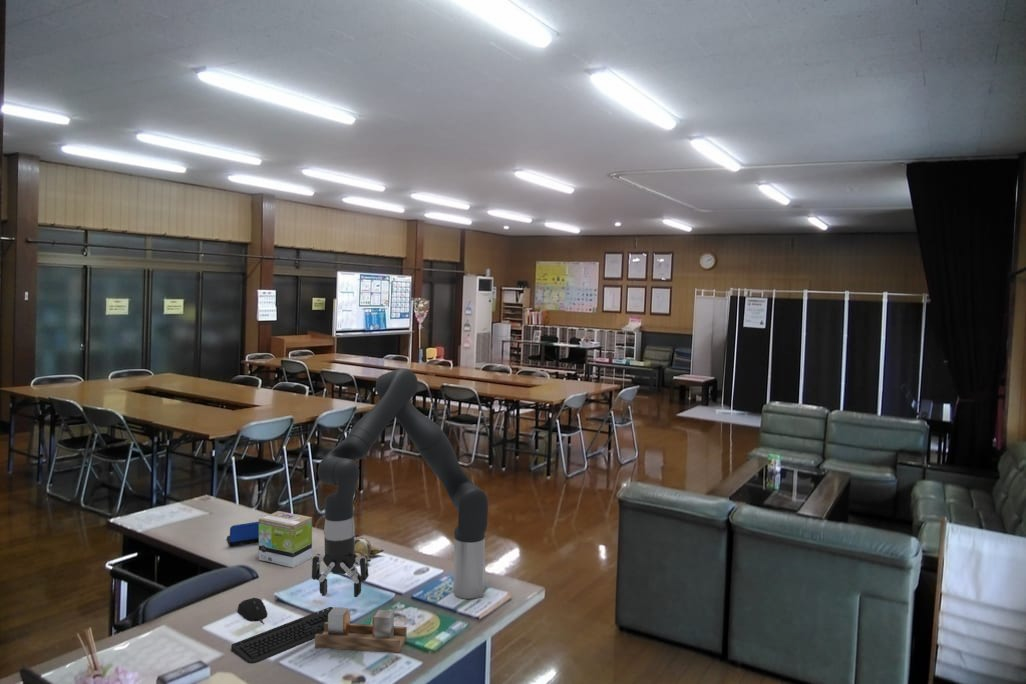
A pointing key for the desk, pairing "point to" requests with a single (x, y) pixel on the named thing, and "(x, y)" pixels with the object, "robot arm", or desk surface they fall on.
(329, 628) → the gray metallic block
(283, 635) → the keyboard
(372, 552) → the ceramic sculpture
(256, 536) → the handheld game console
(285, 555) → the tea box
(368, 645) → the rail
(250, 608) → the gaming mouse
